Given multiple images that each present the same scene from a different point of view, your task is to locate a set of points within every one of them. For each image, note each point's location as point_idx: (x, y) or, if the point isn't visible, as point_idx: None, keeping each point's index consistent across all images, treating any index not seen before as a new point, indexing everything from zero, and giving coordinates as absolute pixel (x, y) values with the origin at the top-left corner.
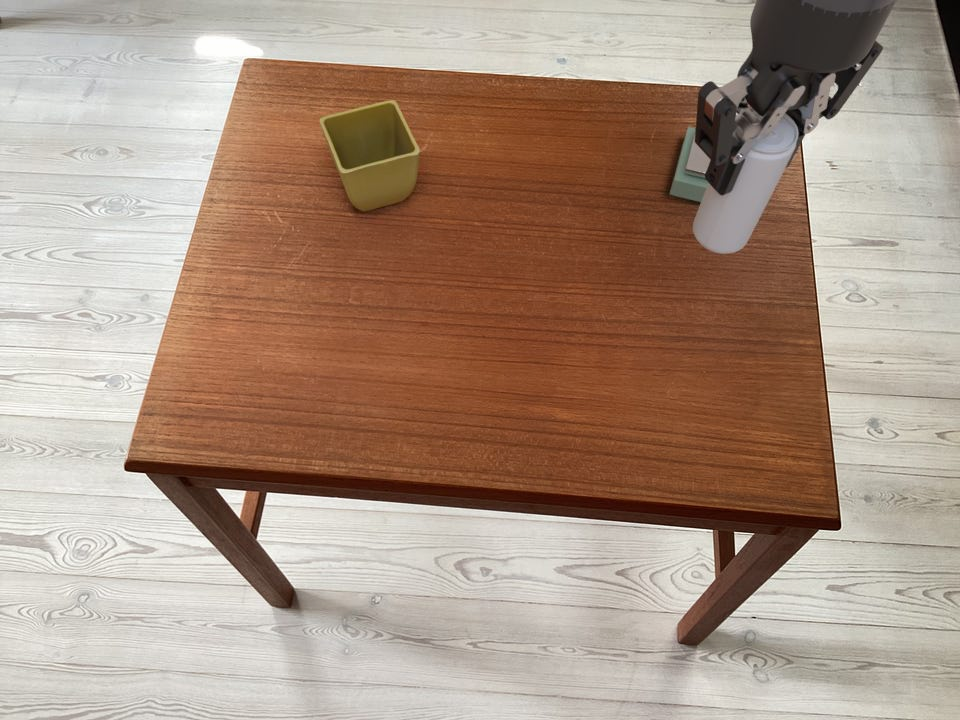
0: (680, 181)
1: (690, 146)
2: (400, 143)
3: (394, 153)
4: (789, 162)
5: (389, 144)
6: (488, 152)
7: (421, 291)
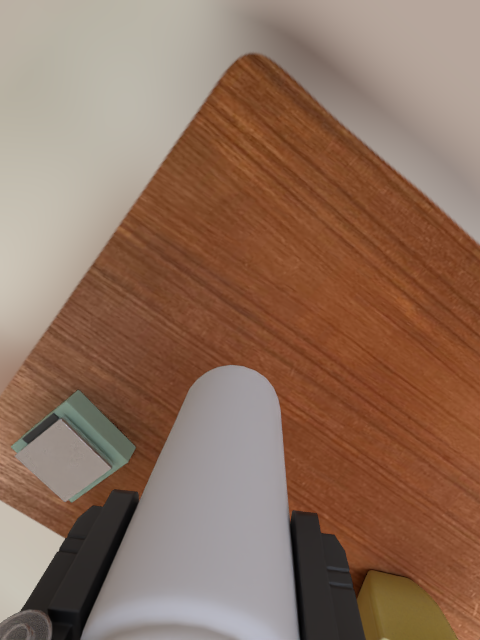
0: (123, 457)
1: None
2: None
3: None
4: (108, 505)
5: None
6: None
7: (423, 486)
